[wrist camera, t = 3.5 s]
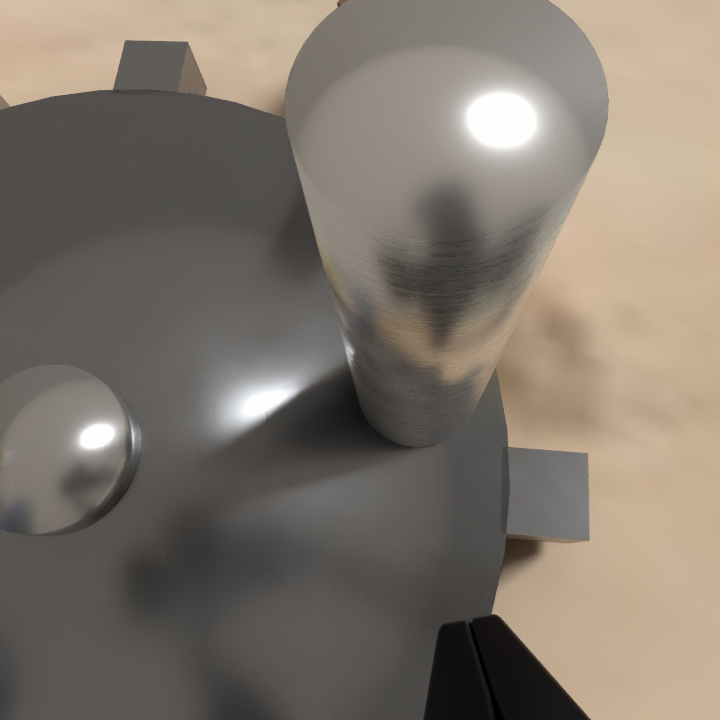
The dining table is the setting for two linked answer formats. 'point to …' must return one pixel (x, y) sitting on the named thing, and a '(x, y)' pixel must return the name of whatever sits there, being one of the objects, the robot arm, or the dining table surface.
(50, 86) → the dining table surface
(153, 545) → the sprocket
